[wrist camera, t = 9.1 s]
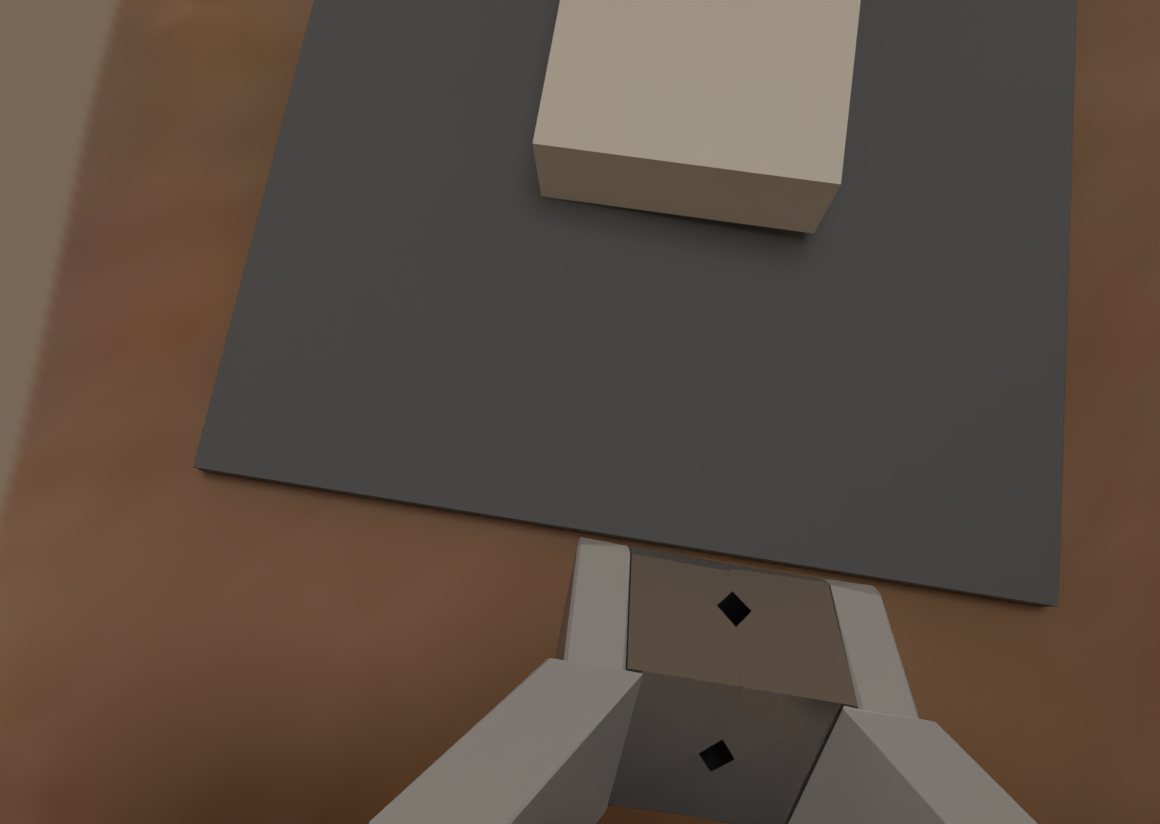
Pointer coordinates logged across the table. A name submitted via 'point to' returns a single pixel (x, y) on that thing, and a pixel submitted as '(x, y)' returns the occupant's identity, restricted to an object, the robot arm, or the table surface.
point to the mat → (671, 307)
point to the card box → (699, 107)
